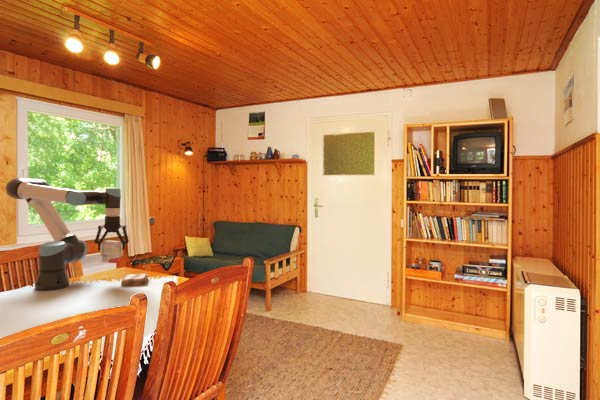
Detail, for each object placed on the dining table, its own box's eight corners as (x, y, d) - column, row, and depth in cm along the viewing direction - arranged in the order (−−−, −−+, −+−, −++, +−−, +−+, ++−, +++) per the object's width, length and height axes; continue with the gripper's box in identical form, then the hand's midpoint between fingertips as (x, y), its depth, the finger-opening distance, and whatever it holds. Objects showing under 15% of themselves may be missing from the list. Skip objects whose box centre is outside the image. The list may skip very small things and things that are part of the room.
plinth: (121, 286, 196) (121, 279, 196) (125, 280, 209) (125, 274, 209) (145, 285, 200) (145, 278, 199) (147, 279, 213) (147, 273, 213)
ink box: (121, 261, 204) (122, 240, 204) (114, 263, 199) (115, 242, 199) (108, 260, 206) (109, 239, 206) (101, 262, 201) (102, 240, 201)
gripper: (88, 215, 195) (87, 257, 195) (133, 216, 202) (132, 256, 202) (91, 214, 202) (90, 254, 202) (135, 215, 209) (134, 254, 209)
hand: (111, 255), depth 202 cm, fingers closed on ink box, 9 cm apart
